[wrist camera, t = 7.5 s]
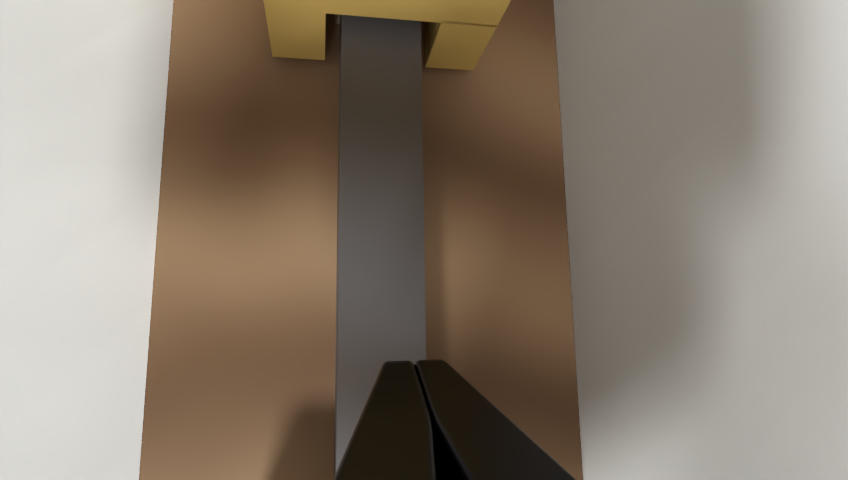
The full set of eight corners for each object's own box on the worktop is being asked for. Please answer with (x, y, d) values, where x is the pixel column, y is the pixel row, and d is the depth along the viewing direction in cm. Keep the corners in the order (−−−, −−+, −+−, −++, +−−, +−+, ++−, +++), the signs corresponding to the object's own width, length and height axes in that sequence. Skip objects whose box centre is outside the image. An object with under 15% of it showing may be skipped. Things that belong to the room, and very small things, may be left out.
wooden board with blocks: (571, 590, 16) (745, 755, 9) (142, 629, 14) (-12, 867, 8) (530, -139, 20) (629, -374, 14) (197, -184, 19) (130, -479, 12)
